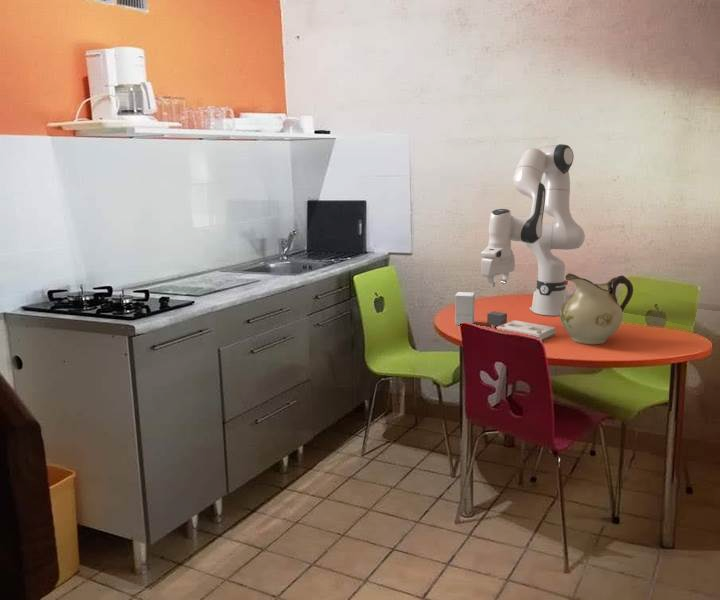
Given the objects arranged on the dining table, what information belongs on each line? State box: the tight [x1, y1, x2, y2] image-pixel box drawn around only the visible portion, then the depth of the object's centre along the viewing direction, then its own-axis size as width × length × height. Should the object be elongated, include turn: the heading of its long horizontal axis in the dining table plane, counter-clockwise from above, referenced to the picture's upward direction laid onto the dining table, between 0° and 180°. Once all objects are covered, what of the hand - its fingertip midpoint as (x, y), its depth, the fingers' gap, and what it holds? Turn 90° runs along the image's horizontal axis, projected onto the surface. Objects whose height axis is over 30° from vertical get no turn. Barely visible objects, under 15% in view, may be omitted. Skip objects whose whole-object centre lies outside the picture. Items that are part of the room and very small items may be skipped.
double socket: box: [495, 319, 557, 341], centre depth 275 cm, size 14×18×4 cm
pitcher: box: [559, 272, 634, 345], centre depth 265 cm, size 22×24×25 cm
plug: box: [486, 311, 508, 328], centre depth 285 cm, size 5×6×6 cm
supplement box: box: [454, 291, 476, 326], centre depth 292 cm, size 7×7×13 cm
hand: (497, 285), depth 282 cm, fingers open, 8 cm apart
